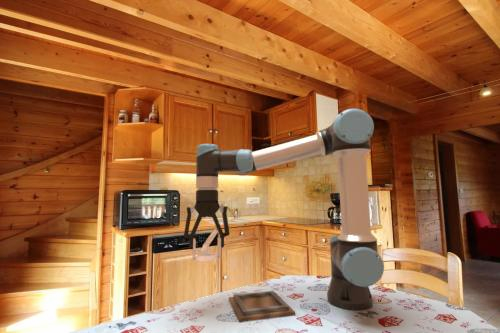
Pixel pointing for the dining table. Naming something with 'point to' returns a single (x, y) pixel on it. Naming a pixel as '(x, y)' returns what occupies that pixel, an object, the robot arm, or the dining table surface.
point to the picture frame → (259, 306)
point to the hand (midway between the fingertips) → (206, 258)
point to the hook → (207, 250)
